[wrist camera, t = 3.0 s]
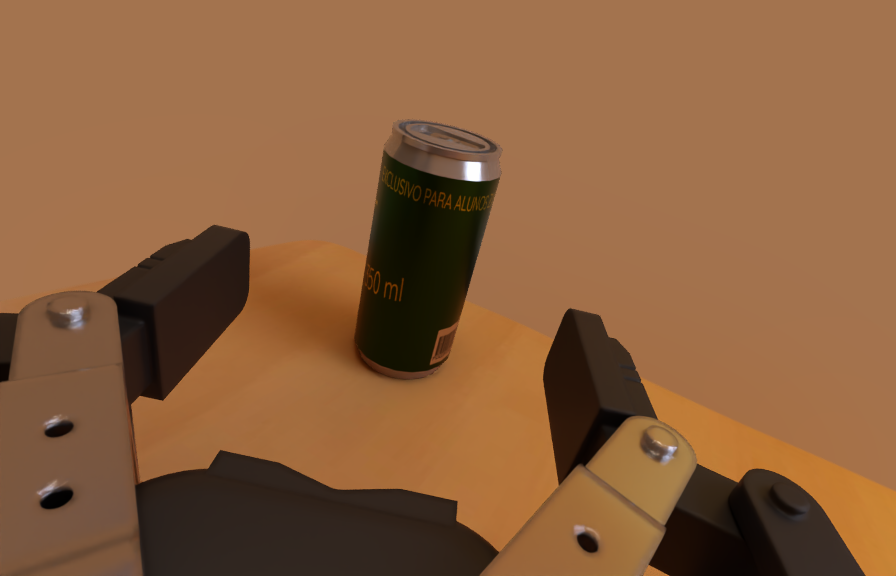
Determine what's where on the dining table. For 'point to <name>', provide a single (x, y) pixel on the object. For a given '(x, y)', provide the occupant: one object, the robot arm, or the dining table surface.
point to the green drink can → (423, 244)
